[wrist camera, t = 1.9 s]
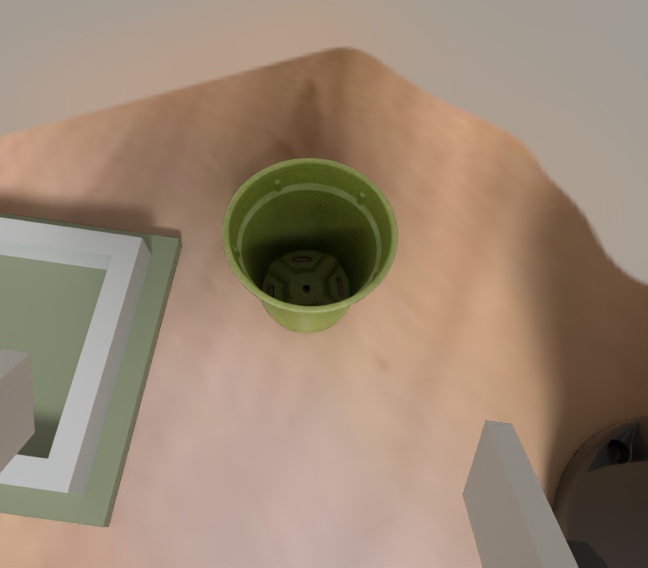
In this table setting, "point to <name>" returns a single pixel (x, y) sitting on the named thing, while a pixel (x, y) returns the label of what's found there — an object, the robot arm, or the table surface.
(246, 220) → the plant pot
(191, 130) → the table surface
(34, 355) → the grey green square tray
